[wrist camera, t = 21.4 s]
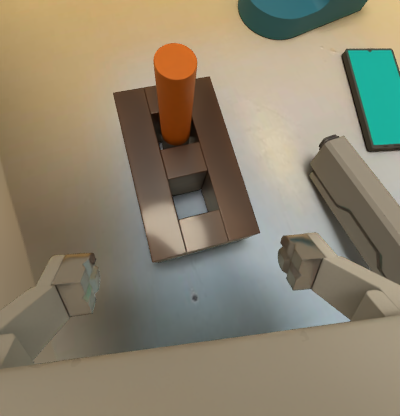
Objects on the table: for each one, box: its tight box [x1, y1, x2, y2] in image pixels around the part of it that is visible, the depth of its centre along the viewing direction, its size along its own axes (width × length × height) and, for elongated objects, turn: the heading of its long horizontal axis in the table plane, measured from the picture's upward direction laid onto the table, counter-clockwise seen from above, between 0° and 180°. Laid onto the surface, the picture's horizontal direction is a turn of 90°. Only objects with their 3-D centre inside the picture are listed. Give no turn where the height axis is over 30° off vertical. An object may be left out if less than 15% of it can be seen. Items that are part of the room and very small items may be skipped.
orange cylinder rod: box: [154, 43, 197, 149], centre depth 23 cm, size 3×3×14 cm
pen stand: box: [113, 77, 260, 263], centre depth 26 cm, size 10×17×6 cm, turn 16°
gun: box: [309, 135, 400, 285], centre depth 26 cm, size 2×25×10 cm, turn 20°
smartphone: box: [342, 49, 400, 151], centre depth 34 cm, size 7×1×15 cm
